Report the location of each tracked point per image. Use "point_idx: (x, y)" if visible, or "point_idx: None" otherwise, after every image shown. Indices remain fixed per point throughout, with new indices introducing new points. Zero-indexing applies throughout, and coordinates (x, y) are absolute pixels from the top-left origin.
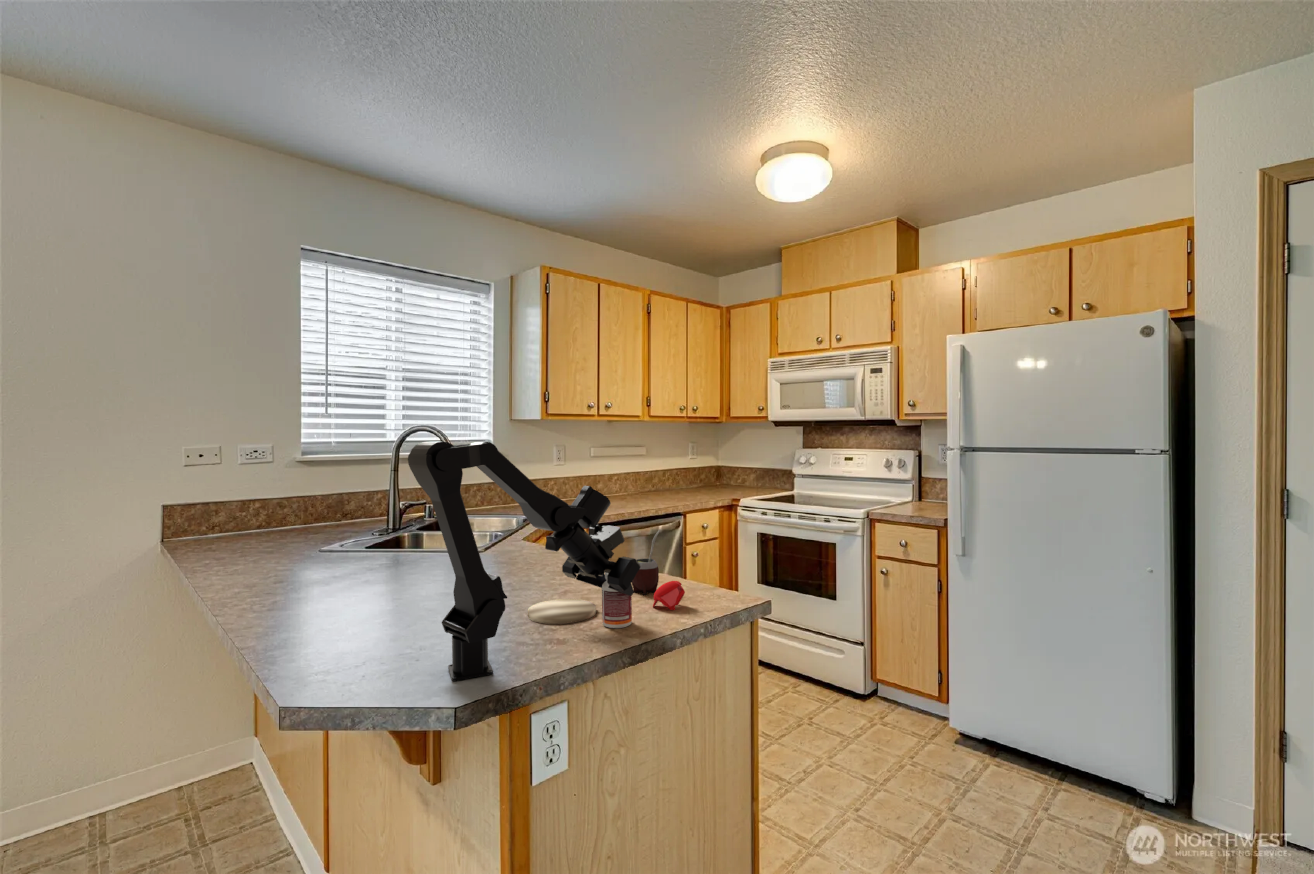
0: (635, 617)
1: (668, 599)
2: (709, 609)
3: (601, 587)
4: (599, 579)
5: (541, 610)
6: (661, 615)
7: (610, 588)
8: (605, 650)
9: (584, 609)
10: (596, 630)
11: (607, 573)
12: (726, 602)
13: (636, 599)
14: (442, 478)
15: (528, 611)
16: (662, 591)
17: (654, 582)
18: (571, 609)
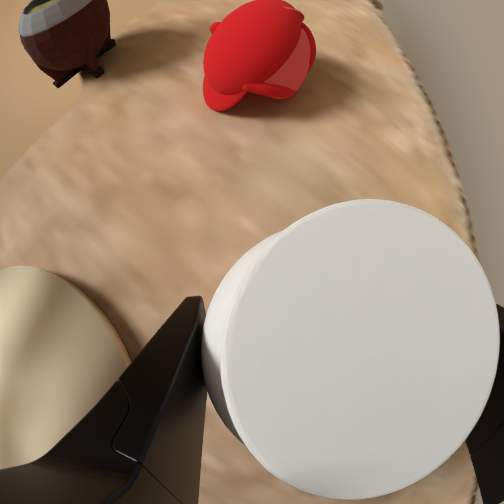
0: (266, 226)
1: (293, 75)
2: (348, 45)
3: (203, 414)
4: (183, 450)
5: (10, 457)
6: (313, 146)
7: (483, 492)
8: (453, 488)
9: (79, 359)
10: None
11: (380, 493)
12: (321, 5)
13: (104, 105)
14: None
15: None
16: (268, 59)
17: (108, 27)
18: (49, 392)
